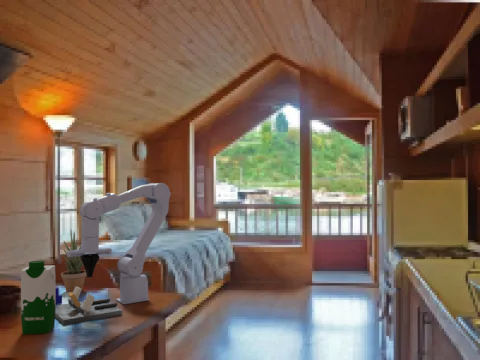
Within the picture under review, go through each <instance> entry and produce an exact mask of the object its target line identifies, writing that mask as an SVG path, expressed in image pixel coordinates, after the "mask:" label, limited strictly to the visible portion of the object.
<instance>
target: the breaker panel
mask: <svg viewBox="0 0 480 360" xmlns="http://www.w3.org/2000/svg"><path fill="white" fill-rule="evenodd" d="M98 300H105V298H96V299H94V301H98ZM84 302H85V300H83V301H79V303H80V304H81V305H80V306H79V307H77V306H75V305H74V303H73V302H72V300H71V299H70V298H68V303H64V304H58V305H56V310H55V319H56V320H58V321H59V322H60V323H61V324H62V325H63V326H66V325H72V324H76V323H83V322H88V321H89V320H90V321H95V320H101V319H105V318H111V317H118V316H122V315H123V310H122V309H121V308H119V307H118V306H114V307H108V308H102V309H94V307H95V306H100V305H107V304H112V303H111V302H105V303H98V304H92V306H91V308H90V310H89V311H87V310H85V309H83V308H82V307H83V304H84ZM94 319H95V320H94Z"/></svg>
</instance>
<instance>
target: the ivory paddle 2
mask: <svg viewBox="0 0 480 360" xmlns="http://www.w3.org/2000/svg"><path fill="white" fill-rule="evenodd" d="M95 298H96V297H95V296H94V295H92V294H89V293H88V294H87V296H86V297H85V300H84V301H85V302H84V304H83V307H82V308H83V309H85V310H87V311H89V310H90V308H91V306H92V303H93V301H94V300H96V299H95Z"/></svg>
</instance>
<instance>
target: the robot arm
mask: <svg viewBox="0 0 480 360" xmlns="http://www.w3.org/2000/svg"><path fill="white" fill-rule="evenodd" d="M171 196H172V193H171V190H170V188H169V186H168V185H167V184H166V183H164V182H159V183H154V182H149V183H148V184H142V185H139V186H136V187H134V188H132V189H129V190H127V191H124V192H122V193H119V194H116V193H114V192H113V193H111V192H107V193H105V195H104V196H101V197H98V198H97V197H95V198H93V199H92V201H85V202H83V203H82V204H81V205H80V208H79V211H78V212H79V214H80V216H81V228H80V229H81V231H80V232H81V233H80V236H81V240H80V243H81V244H80V246H81V249H80V250H79V249H77V250H71V249H70V250H71V251H68V250H66V253H67V255H66V258H68V257H74V256H80V258H81V259H80V261H81V260H82V262H83V263H82V264H84V265H83V267H84V271H86V276H85V277H87V278H93V275H94V274H93V273H94V272H95V271H94V270H95V268H96V265H97V264H98V261H100V255H112V253H113V252H112V248H110V247H108V248H107V247H106V248H105V247H104V248H100V247H99V246H100V244H99V243H100V217H101V216H102V215H105V214H107V213H109V212H113V211H115V210H117V209H119V208H120V206H122V204H123V203H127V202H129V201H132V200H136V199H138V198H146V200H147V201H148V202H149V204H150V207H151V209H152V211H151V212H150V214H149V216H148V218H147V219H146V222H144V225H143V227H142V229H141V230H140V232H139V233H138V236H137V238H136V239H135V241H134V242H133V244H132V246H131V247H130V248H129V249H128V250H126V252H125V254H124V255H122V256H121V257H120V258H119V259H118V261H117V264H116V265H117V269H118V271H119V272H120V274H119V297H118V298H115V300H116V301H118V302H119V303H121V304H123V305H129V304H134V303H140V302H145V301H146V302H148V301H149V300H150V299H149V281H148V277H147V275H146V274H141V273H142V272H143V269H144V264H145V262H146V253H147V251H148V250H149V248H150V246H151V243H152V242H153V240H154V239H155V237H156V235H157V233H158V232H159V229H160V228H161V226H162V224H163V223H164V220H165V218H166V216H167V215H168V213H169V209H170V208H169V207H170V206H169V205H170V204H169V203H170V197H171Z"/></svg>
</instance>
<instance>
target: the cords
mask: <svg viewBox="0 0 480 360" xmlns="http://www.w3.org/2000/svg"><path fill="white" fill-rule="evenodd" d="M105 302H109V303H111V298H107V299H106V298H104V300H98V301H93V303H92V304H98V303H105ZM114 306H116V307H118V303H117V302H113V303H111V304H107V305H100V306H95V307H94V309H102V308H108V307H114Z"/></svg>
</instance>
